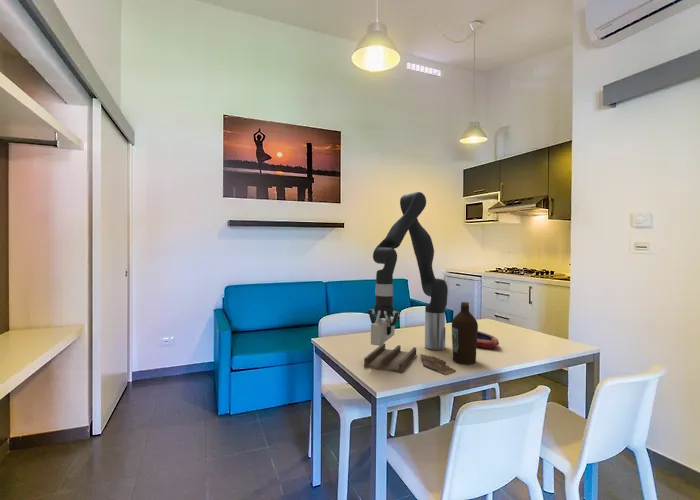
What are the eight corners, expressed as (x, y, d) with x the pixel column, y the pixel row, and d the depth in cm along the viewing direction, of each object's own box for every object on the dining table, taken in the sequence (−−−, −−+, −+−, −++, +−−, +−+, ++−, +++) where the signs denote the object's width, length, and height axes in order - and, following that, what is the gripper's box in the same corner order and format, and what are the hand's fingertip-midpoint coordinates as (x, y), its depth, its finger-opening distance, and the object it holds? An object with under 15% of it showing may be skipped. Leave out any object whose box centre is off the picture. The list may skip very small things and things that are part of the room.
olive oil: (472, 357, 156) (473, 300, 155) (481, 365, 145) (482, 304, 145) (448, 357, 156) (449, 300, 155) (455, 365, 145) (456, 304, 145)
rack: (416, 355, 158) (416, 347, 158) (402, 372, 136) (402, 363, 136) (382, 350, 164) (382, 343, 164) (364, 366, 142) (364, 358, 142)
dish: (469, 334, 197) (469, 325, 197) (509, 350, 168) (509, 339, 168) (444, 336, 192) (444, 327, 192) (481, 353, 163) (481, 342, 163)
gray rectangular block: (394, 334, 159) (394, 316, 159) (380, 345, 141) (380, 325, 141) (385, 333, 161) (386, 316, 161) (370, 344, 143) (371, 324, 143)
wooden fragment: (460, 375, 135) (460, 372, 135) (432, 376, 133) (432, 373, 133) (435, 354, 160) (435, 352, 160) (411, 355, 158) (411, 353, 158)
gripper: (402, 294, 152) (401, 334, 152) (371, 292, 157) (370, 330, 157) (397, 296, 145) (396, 338, 145) (365, 294, 150) (364, 334, 151)
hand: (383, 334), depth 151 cm, fingers closed on gray rectangular block, 4 cm apart
